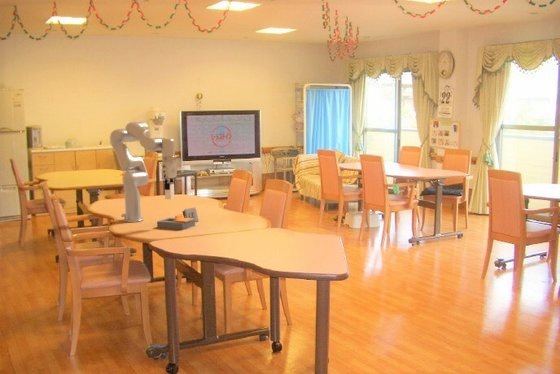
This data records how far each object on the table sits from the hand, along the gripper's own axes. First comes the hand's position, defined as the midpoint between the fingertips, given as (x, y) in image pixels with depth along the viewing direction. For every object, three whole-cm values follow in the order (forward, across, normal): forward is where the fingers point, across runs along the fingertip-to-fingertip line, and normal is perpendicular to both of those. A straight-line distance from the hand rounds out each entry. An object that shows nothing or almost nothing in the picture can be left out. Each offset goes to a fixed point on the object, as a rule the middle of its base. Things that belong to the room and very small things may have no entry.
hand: (169, 188), depth 370 cm
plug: (+6, 0, 0) cm, 6 cm away
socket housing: (+23, 0, -4) cm, 24 cm away
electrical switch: (+23, +16, -4) cm, 29 cm away
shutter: (+19, 0, -9) cm, 21 cm away
